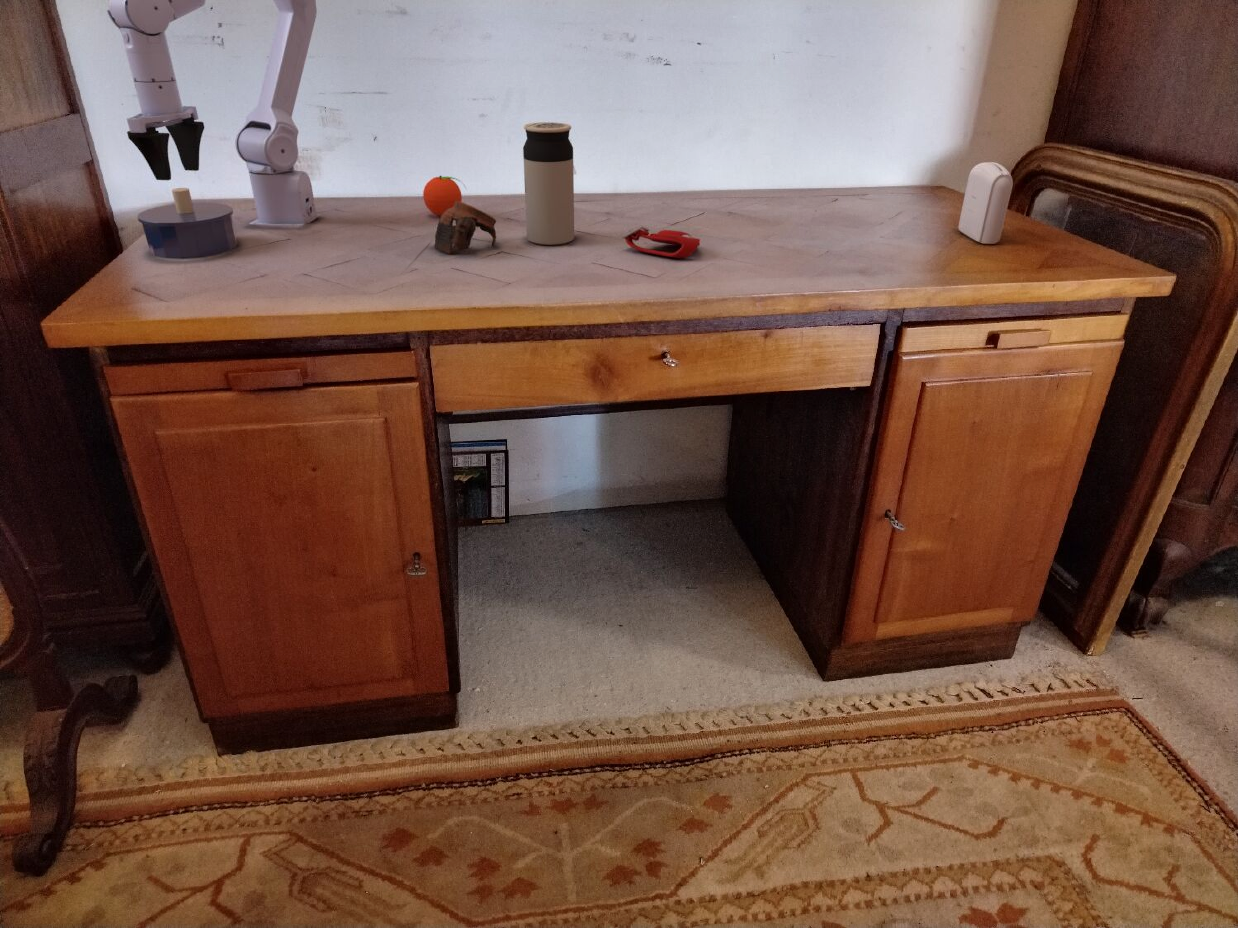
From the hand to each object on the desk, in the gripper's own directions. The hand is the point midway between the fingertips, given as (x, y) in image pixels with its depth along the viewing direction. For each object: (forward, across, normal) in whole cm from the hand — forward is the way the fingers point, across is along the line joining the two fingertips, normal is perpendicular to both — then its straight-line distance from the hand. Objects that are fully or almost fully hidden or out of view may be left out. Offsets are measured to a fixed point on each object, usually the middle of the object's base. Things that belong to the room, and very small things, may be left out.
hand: (178, 175), depth 131 cm
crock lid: (+5, -6, -4) cm, 8 cm away
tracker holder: (+11, +8, -77) cm, 78 cm away
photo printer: (+11, +26, -130) cm, 133 cm away
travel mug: (+11, +11, -57) cm, 59 cm away
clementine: (+11, +24, -35) cm, 44 cm away
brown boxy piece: (+11, +3, -45) cm, 46 cm away
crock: (+10, -6, -4) cm, 12 cm away
